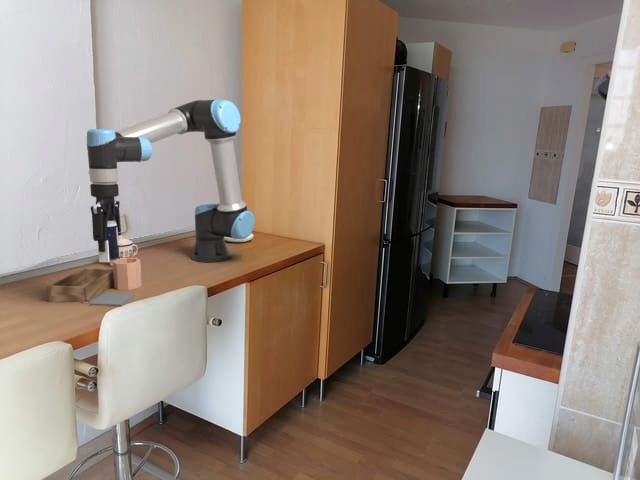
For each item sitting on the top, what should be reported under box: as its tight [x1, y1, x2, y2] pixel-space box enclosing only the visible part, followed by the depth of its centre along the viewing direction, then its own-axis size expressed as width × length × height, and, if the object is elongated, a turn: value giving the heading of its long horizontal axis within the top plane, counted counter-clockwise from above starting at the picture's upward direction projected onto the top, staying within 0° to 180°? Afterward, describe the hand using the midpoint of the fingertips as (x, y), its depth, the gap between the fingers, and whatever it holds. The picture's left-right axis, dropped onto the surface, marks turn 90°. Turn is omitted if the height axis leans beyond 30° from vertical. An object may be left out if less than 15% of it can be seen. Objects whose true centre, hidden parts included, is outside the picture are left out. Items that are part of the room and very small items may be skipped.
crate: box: [47, 267, 114, 303], centre depth 151 cm, size 12×21×5 cm, turn 179°
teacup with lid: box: [109, 235, 139, 268], centre depth 184 cm, size 12×9×12 cm
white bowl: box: [224, 233, 254, 243], centre depth 232 cm, size 16×16×7 cm
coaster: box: [87, 292, 136, 307], centre depth 144 cm, size 10×10×1 cm
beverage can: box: [97, 220, 119, 263], centre depth 140 cm, size 6×6×12 cm
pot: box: [112, 257, 142, 291], centre depth 157 cm, size 8×8×9 cm
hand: (109, 259), depth 142 cm, fingers closed on beverage can, 6 cm apart
